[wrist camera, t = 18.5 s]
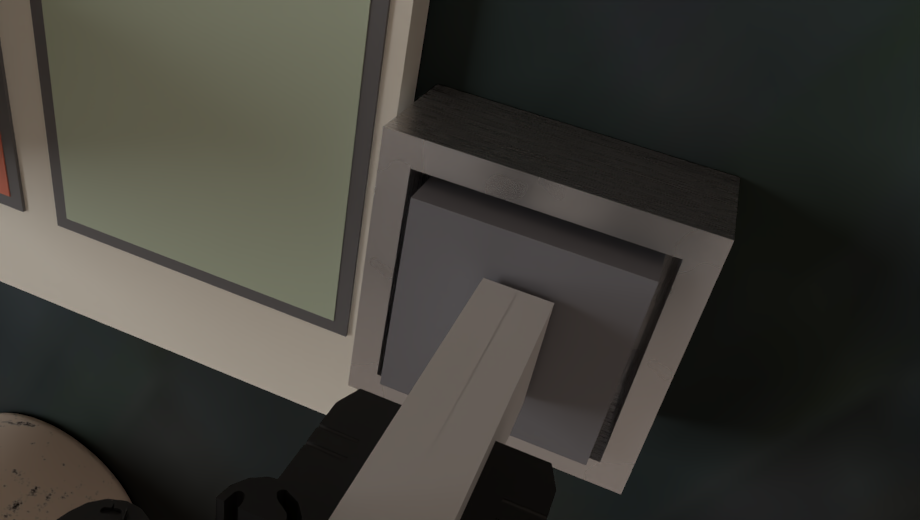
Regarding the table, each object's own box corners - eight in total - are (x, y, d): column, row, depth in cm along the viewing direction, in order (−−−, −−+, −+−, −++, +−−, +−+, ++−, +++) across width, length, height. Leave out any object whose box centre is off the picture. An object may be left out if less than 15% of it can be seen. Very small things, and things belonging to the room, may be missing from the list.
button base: (639, 412, 20) (620, 494, 18) (396, 320, 21) (347, 385, 19) (740, 177, 16) (734, 240, 14) (437, 84, 18) (383, 126, 15)
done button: (609, 383, 19) (585, 465, 17) (427, 315, 20) (379, 383, 18) (676, 213, 17) (658, 282, 14) (461, 144, 18) (410, 197, 15)
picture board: (366, 404, 23) (349, 428, 23) (-174, 186, 28) (-207, 199, 27) (460, -194, 15) (438, -195, 14) (-349, -381, 19) (-407, -392, 18)
